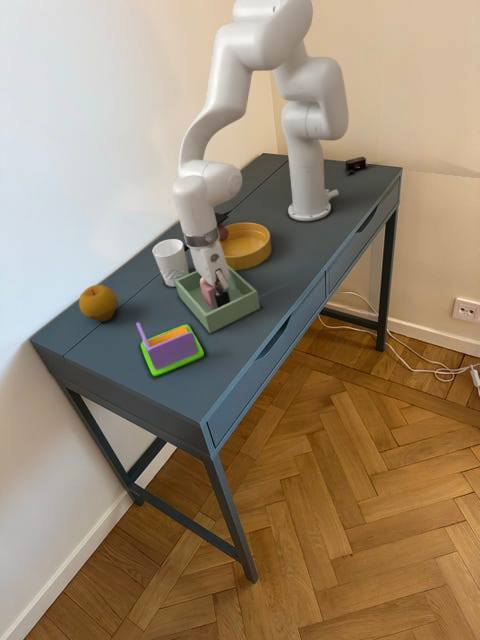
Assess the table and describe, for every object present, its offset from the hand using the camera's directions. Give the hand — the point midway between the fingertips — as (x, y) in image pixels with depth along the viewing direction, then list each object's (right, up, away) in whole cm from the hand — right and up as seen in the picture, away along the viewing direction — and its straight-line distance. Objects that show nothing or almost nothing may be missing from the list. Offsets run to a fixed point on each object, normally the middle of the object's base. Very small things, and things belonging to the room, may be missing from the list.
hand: (217, 298), depth 111 cm
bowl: (+6, +13, +16) cm, 21 cm away
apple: (-28, -5, +4) cm, 29 cm away
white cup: (-11, +5, +11) cm, 17 cm away
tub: (0, -1, +1) cm, 1 cm away
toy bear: (0, -1, 0) cm, 1 cm away
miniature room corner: (-9, -12, -9) cm, 18 cm away
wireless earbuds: (+44, +44, +42) cm, 75 cm away
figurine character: (-4, +19, +25) cm, 31 cm away
